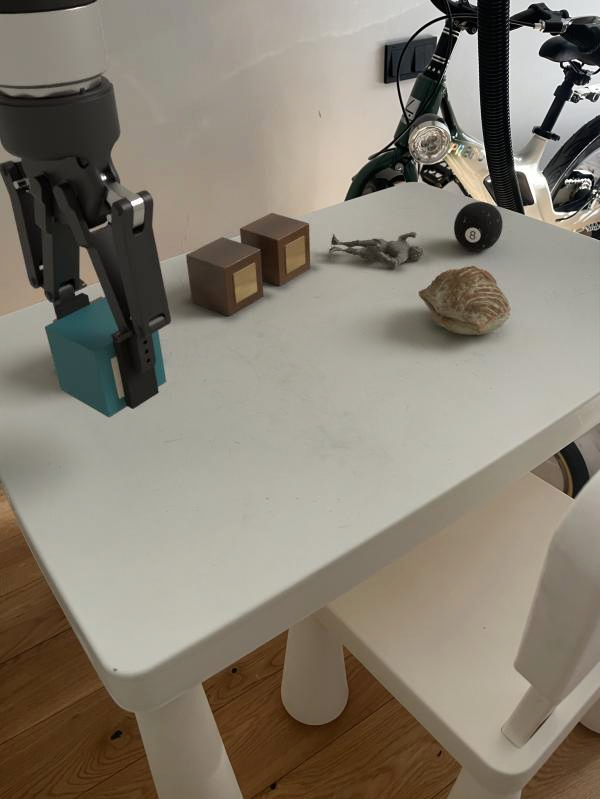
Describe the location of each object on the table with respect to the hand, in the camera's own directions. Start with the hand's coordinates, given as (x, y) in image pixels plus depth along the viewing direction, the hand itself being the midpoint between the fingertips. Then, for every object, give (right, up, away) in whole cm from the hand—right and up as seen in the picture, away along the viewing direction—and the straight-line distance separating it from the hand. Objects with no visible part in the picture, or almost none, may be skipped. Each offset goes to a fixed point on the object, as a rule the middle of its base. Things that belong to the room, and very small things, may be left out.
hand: (114, 383), depth 59 cm
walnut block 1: (+6, +11, +27) cm, 30 cm away
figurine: (+25, +17, +35) cm, 46 cm away
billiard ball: (+38, +18, +36) cm, 56 cm away
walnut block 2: (+12, +15, +33) cm, 38 cm away
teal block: (0, 0, 0) cm, 0 cm away
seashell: (+32, +6, +21) cm, 39 cm away
